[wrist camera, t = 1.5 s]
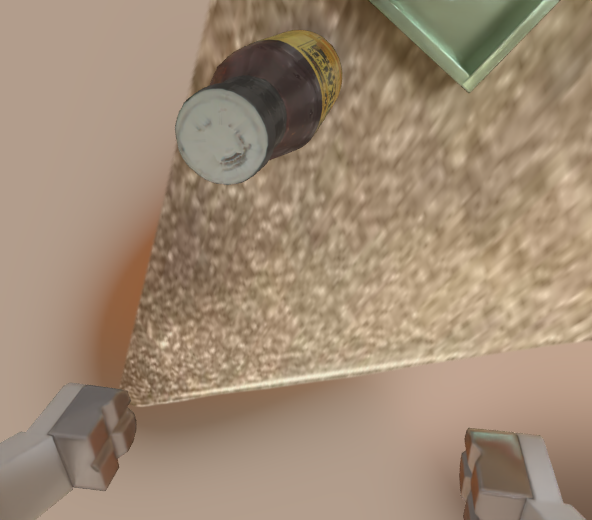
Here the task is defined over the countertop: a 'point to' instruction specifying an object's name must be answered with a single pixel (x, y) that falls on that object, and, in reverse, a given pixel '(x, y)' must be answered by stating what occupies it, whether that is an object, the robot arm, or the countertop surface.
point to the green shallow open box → (465, 31)
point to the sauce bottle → (259, 106)
